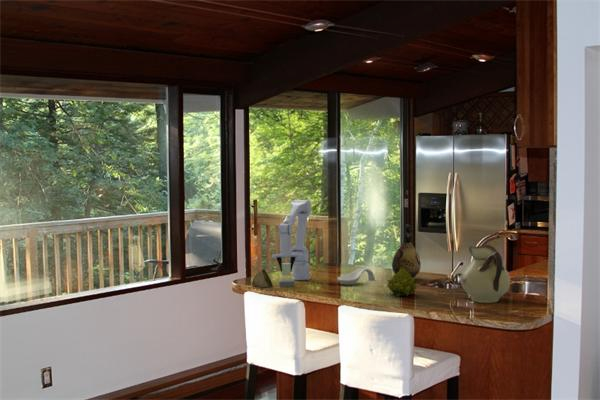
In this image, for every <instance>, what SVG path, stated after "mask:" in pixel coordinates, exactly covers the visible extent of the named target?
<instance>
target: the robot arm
mask: <svg viewBox="0 0 600 400" xmlns="http://www.w3.org/2000/svg"><path fill="white" fill-rule="evenodd" d="M290 205H291V206H290V208H291V210H290V212H289V214H287V215H286V216H285V218H284V220H283V222H282V223H280V224H279V225H278V228H277V231H278V237H279V241H280V243H279V248H280V253H274V254H272V255H271V258H272V259H276V261H277V263H278V266H279V269H280V273H282V263H283V261H282V259H289V261H290V262H289V263H290V264H291V272H292V277H291V279H294V281H307V280H308V281H310V279H311V273H310V263H309V259H310V255H309V253H310V252H309V249H308V247H306V246H305V242H306V241H305V240H306V232H307V222H308V218H309V216H310V215H311V208H312V205H311V201H310V200H309V199H306V200H305V199H303V200H302V199H292V201H291V202H290ZM297 218H298V219H297ZM296 221H297V226H296V227H297V228H296V235H295V237H296V238H295V245H294V246H292V234H293V230H294V225H295V224H296Z"/></svg>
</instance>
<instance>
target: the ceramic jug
mask: <svg viewBox="0 0 600 400" xmlns="http://www.w3.org/2000/svg"><path fill="white" fill-rule="evenodd" d="M413 233H414V229H413V228H411V225H410V224H405V225H404V226H403V241H402V244H401V245H400V246H399V247H398V249H397V250H396V252H395V253H394V255H393V259H392V263H391V268H392V270H393V273H394V275H396V274H397V273H398V272H399V271H400V267H402V268H403V269H404V270H405V271H407V272H409V274H411V277H412V278H415V279H416V276H417V275H418V274H419V273H420V270H421V258H420V256H419V254H418V252H417V249H416V248H415V246H414V245H413V243H412V241H411V236H412V235H413Z"/></svg>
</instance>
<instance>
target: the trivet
mask: <svg viewBox="0 0 600 400" xmlns="http://www.w3.org/2000/svg"><path fill="white" fill-rule="evenodd" d="M278 287H280V288H281V287H283V288H284V287H295V280H294V279H292V278H279V279H278Z"/></svg>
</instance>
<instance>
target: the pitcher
mask: <svg viewBox="0 0 600 400" xmlns="http://www.w3.org/2000/svg"><path fill="white" fill-rule="evenodd" d="M468 250H469V253H470V254H471V256H472V260H471V261H470V263H469V264H468V265H467V266H466V267H465V268H464V269H463V270H462V273H461V275H460V283H461V286H462V288H463V290H464V291H465V293H467V295H469V297H470V299H471V301H472V302H475V303H483V304H494V303H497V302H499V301H500V299H501V298H502V297H503V296H504V295H505V294H506V292H507V291H508V290H509V287H510V284H511V276H510V274H509V272H508V270H507V269H506V268H505V267H504V266H503V264H504V263H503V257H502V255H501V253H500V252H499V251H497V249H496V248H495V247H494V246H492V245H490V244H481V245H477V246H473V245H469V246H468Z"/></svg>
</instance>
